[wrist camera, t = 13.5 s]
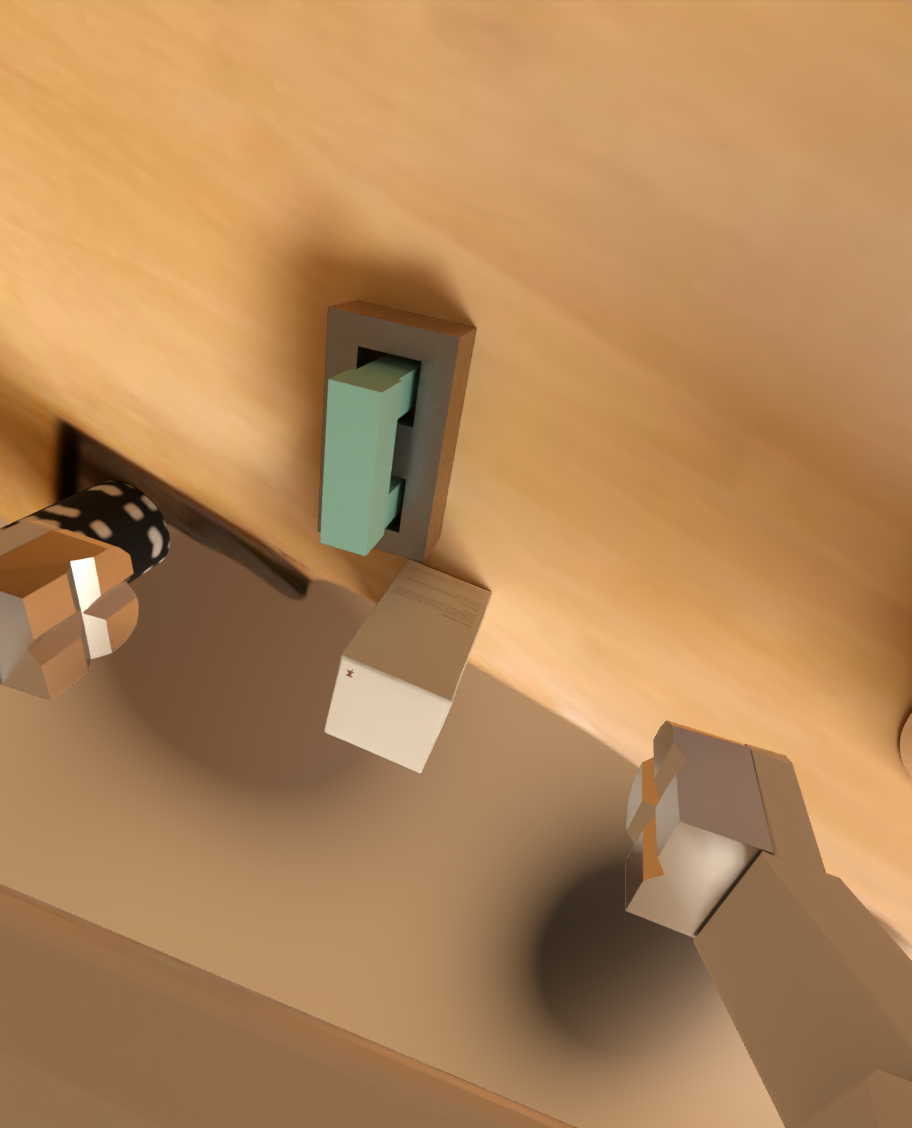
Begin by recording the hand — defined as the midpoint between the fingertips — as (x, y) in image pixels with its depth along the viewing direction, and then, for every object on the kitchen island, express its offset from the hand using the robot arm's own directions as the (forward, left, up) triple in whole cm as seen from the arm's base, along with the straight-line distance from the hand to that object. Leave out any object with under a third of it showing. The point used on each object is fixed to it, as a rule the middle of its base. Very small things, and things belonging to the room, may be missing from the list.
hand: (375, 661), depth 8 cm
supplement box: (+5, +22, -31) cm, 39 cm away
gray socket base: (+10, +8, -31) cm, 34 cm away
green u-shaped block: (+10, +8, -31) cm, 34 cm away
